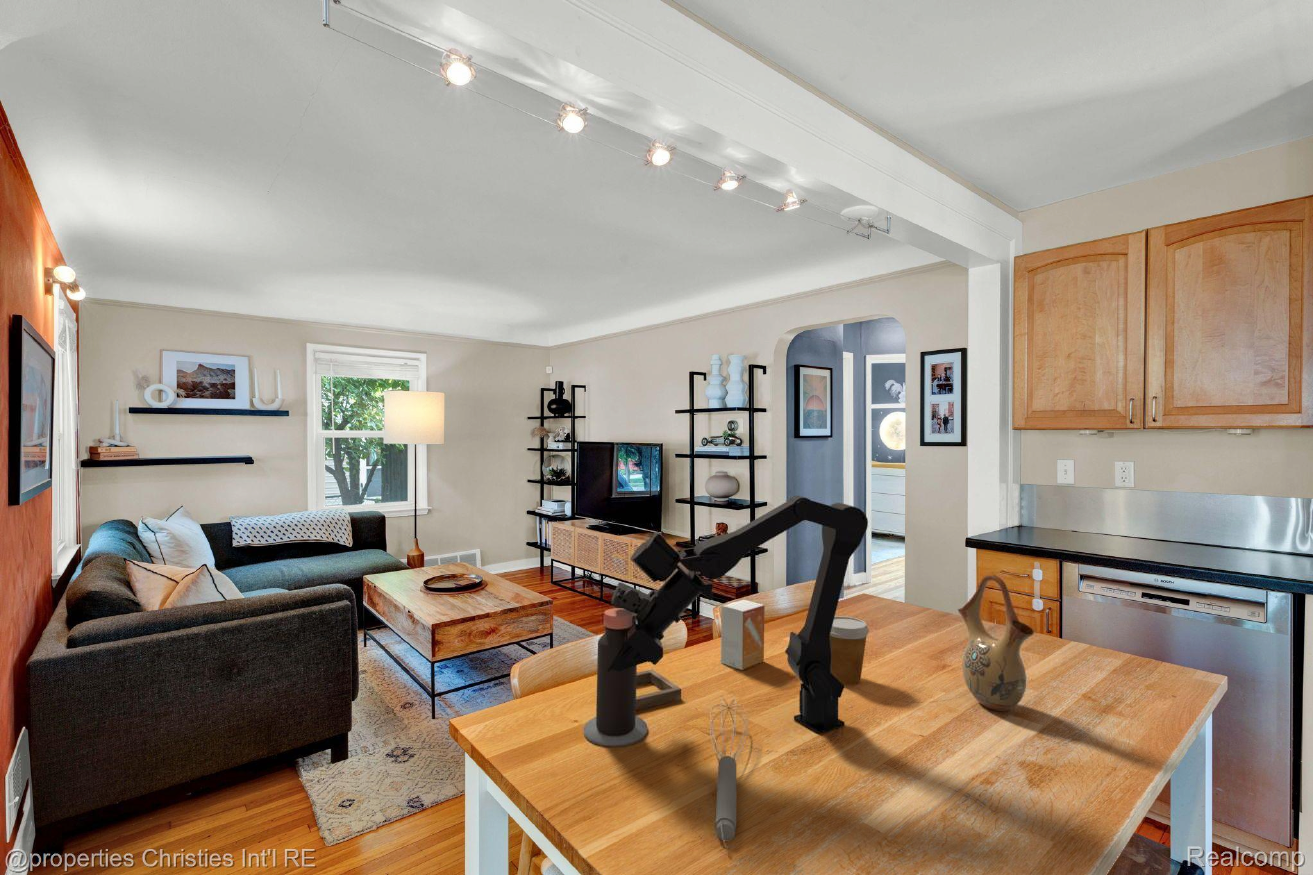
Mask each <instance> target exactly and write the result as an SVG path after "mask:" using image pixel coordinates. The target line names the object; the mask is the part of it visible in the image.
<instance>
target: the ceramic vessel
mask: <svg viewBox="0 0 1313 875" xmlns="http://www.w3.org/2000/svg"><path fill="white" fill-rule="evenodd" d="M989 581H992V582H995V583H996V584H997V585H998V586H999V589H1000V591H1001V594H1002V598H1003V602H1004V608H1005V609H1004V610H1005V618H1006V621H1005V623H1006V624H1005V632H1004V635H1003V637H1002V638H1001V639H998V638H995V637H993V636H992V635H991V634H989V632H988V631H987V630H986V627H985V626H984V623H983V621H982V618H981V608H982V602H983V598H984V593H985V590H986V587H987V584H988V583H989ZM957 611H958V613H959V614H960V616H961V617H962V619H963V621H964V623H965V624H966V628H967V631H968V632H967V634H968V643H967V645H966V648H965V649H964V653H963V655H962V661H961V662H962V664H961V666H962V676H963V679H964V681H965V684H966V688H968V690H969V692H970V693H971V695H972V696H973V698H974V699H975V700H976V701H978V703H979V704H981V705H982V706H983V707H985V708H987V709H990V710H993V711H998V712H1006V711H1009V710H1011V709H1014V708H1015V707H1016V706H1017V705H1018V704H1019V703H1020V702H1021V700H1022V699H1023V697H1024V695H1025V693H1026V688H1027V673H1026V668H1025V665H1024V662H1023V660H1022V657H1021V654H1020V652H1021V648H1022V645H1023V643H1024V642H1025V641H1026V640H1028V639H1029V638H1031V637H1032V636H1033V635H1034V633H1035V632H1034V629H1033V628H1032V627H1031V626H1029V625H1028V624H1026V623H1025V622H1022V621H1020V620H1019V618H1018V615H1017V614H1016V611H1015V609H1014V606H1013V603H1012V600H1011V596H1010V592H1009V589H1008V587H1007V584H1006V583H1005V581H1004V580H1003V579H1002V578H1001V577H999V576H998V575H996V574H987V575H985V576H983V578H982V579H981V580H980V583H979V585H978V587H977V589H976V591H975V592H974V594H973V595H972V597H971V598H970V599H969V601H967V602H966V603H965V604H964V606H962V607H959V608H958V609H957Z"/></svg>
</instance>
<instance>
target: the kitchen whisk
mask: <svg viewBox="0 0 1313 875" xmlns="http://www.w3.org/2000/svg"><path fill="white" fill-rule="evenodd" d="M723 701H724V702H725V704H726V705H724V704H723ZM734 701H735V704H737V701H736V699H735V698H734V699H733V700H732V701H731V702H730V705H728V703H727V701H726V700H725V699H724V698H722V699H721V702H720V704H715V705H714V706H712V707H711V710H710V715H709V717H710V719H709V720H710V730H709V731H710V739H711V743H712V746H713V749H714V751H715V755H716V756H717V758H718V764H717V765H718V768H717V769H718V770H717V784H716V785H717V786H716V809H715V824H714V827H715V832H716V836H717V838H718V839H720V841H722V840H723V841H722V842H723V845H724V847H725V849H726V850H728V846H727V845H726V841H724V840H730V841H732V840H733V839H734V838H735V834H736V831H737V760H738V758H739V757H740V755H741V753H742V752H743V749H744V747H745V744H746V740H747V735H748V730H747V729H748V727H747V720H748V719H747V717H748V714H747V711H746V709H745V708H744V707H743V706H740V705H735V706H732V705H733V702H734ZM716 706H718V707H719V706H720V712H718V713H717V714H716V715H715V716H714V718H712V712H713V709H714V708H715V707H716ZM722 707H724V708H725V709H722ZM733 708H741V709H742V710H744V712H745V719H744V718H743V716H742V715H741V713H739V712H738V711H737V709H733ZM726 710H727V712H726V714H725V717H724V720H723V715H722V714H723V712H724V711H726ZM731 711H734V712H735V713H734V718H733V714H732V712H731ZM728 712H729V713H730V716H731V719H732V723H733V730H732V737H731V743H730V751H729V755H726V750H725V748H726V747H725V740H724V739H725V738H724V726H725V725H724V724H725V721H726V718H727V715H728ZM718 715H720V718H721V720H720V721H721V732H720V733H721V734H720V736H722V744H723V749H722V750H721V749H719V746H718V743H717V740H716V738H715V737H716V736H715V733H714V728H713V723H714V720H715V718H717V716H718ZM737 715H739V717H741V720H742V721H743V722H744V729H743V733H742V736H741V739H740V742H739V744H738V747H737V750H735V752H734V751H733V752H734V753H733V755H732V756H731V754H732V749H733V741H734V735H735V738H736V737H737V731H736V717H737ZM744 734H745V738H744ZM712 735H713V737H712ZM713 738H714V741H715V745H716V747H715V745H714V742H713ZM743 738H744V743H743V744H742V741H743ZM741 744H742V747H741ZM740 747H741V750H740V752H739V753H738V750H739V748H740ZM716 748H717V750H716ZM717 751H718V753H717ZM720 751H721V752H720ZM723 752H724V754H723ZM737 753H738V756H737ZM736 756H737V757H736ZM735 758H736V759H735Z"/></svg>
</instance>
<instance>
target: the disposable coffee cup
mask: <svg viewBox="0 0 1313 875" xmlns="http://www.w3.org/2000/svg"><path fill="white" fill-rule="evenodd" d="M869 633H870V630H869V628H868V625H867V622H866V621H864V620H862V619H859V618H856V617H851V616H845V615H844V616H842V615H841V616H837V615H835V617H834V621H833V625H832V629H831V633H830V642H831V651H832V662H831V673H832V674H833V675H834V676H835V677H836V678H837V679H838V680H839V681H840V682H841V683H842V684H843V685H847V686H849V685H851V686H853V685H858V684H859V683H860V682H861V678H862V672H863V666H864V665H863V664H864V657H865V650H866V642H867V637H868V634H869Z"/></svg>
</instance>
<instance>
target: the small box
mask: <svg viewBox="0 0 1313 875" xmlns="http://www.w3.org/2000/svg"><path fill="white" fill-rule="evenodd" d="M765 607H766V606H765V604H762V603H758V602H754V601H751V600H747V599H741V600H737V601H733V602H729V603H728V604H724V605H721V611H720V612H721V619H720V620H721V626H720V627H721V628H720V630H721V631H720V640H721V641H720V647H721V648H720V663H721V664H723V665H726V666H729V667H732V668H734V669H737V670H741V671H744V670H745V669H748V668H750V667H753V666H756V665H758V664H760V663H763V662H765V610H766V609H765Z"/></svg>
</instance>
